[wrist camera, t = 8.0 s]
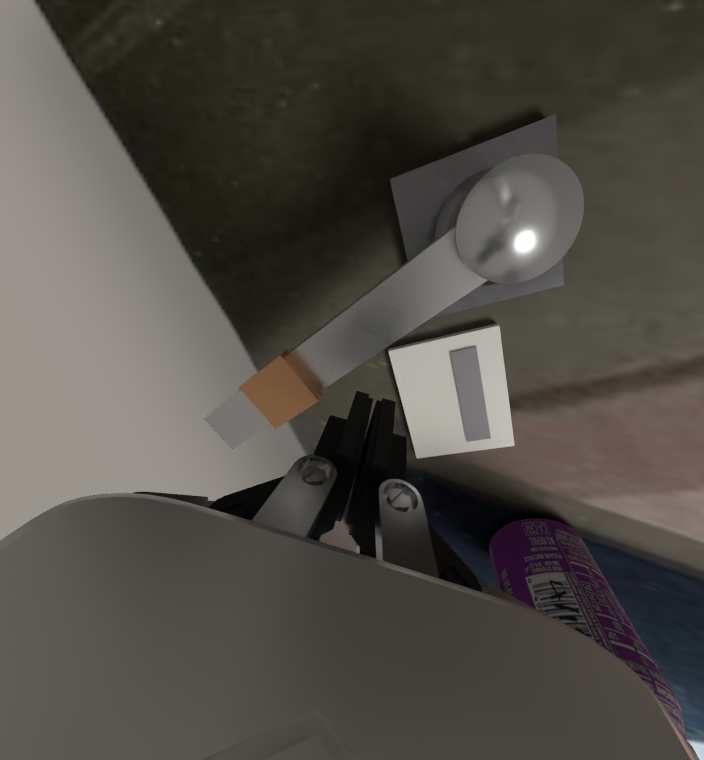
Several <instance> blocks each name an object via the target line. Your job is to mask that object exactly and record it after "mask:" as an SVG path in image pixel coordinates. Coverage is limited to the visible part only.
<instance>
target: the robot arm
mask: <svg viewBox="0 0 704 760" xmlns="http://www.w3.org/2000/svg"><path fill="white" fill-rule="evenodd" d="M368 397H369V394H366V393H362V392H359V391H356V394H355V397H354V400H353V403H352V407H351V410H350V413H349V416H348V419H347V420H345V419H342V418H338V417H335V416H330V417H329V419H328V422H327V424H326V426H325V429H324V431H323V433H322V436H321V438H320V440H319V443H318V445H317V447H316V450H315V452H314V454H313V455H308V456H304V457H302V458H300V459H298V460H297V461H296V462H295V463H294V465H293V466H292V467H291V469H290V470H289V471H288V473H287V474H286V475H285V476H283V477H280V478H277V479H274V480H271V481H268V482H265V483H262V484H259V485H256V486H253V487H251V488H247V489H245V490H241V491H239V492H235V493H232V494H230V495H227V496H224V497H222V498H220V499H217V500H216V501H208V497H201V496H190V495H178V494H166V493H154V492H135V493H115V494H99V495H92V496H86V497H81V498H77V499H74V500H71V501H67V502H65V503H62V504H60V505H58V506H55V507H53V508H51V509H49V510H48V511H46V512H44V513H42V514H40V515H39V516H37V517H35V518H34V519H32V520H30V521H29V522H27V523H26V524H24V525H23V526H21V527H20V528H18V529H17V530H15V531H14V532H12V533H11V534H9V535H8V536H6V537H5V538H4V539H2V540H1V541H0V760H697V758H696V757H695V755H694V753H693V752H692V750H691V748H690V747H689V745H688V743H687V742H686V740H685V738H684V737H683V735H682V733H681V732H680V730H679V728H678V727H677V725H676V724H675V722H674V721H673V719H672V718H671V716H670V714H669V713H668V712H667V710H666V709H665V707H664V706H663V704H662V703H661V702H660V700H659V699H658V698H657V696H656V695H655V694H654V692H653V691H652V690H651V689H650V687H649V686H648V685H647V684H646V683H645V682H644V681H643V680H642V679H641V678H640V677H639V676H638V675H637V674H636V673H635V672H634V671H633V670H632V669H631V668H630V667H628V666H627V665H626V664H625V663H624V662H622V661H621V660H620V659H619V658H617V657H616V656H615V655H614V654H612V653H611V652H609V651H608V650H606V649H605V648H604V647H602V646H601V645H599V644H598V643H596V642H595V641H593V640H592V639H590V638H589V637H587V636H585V635H584V634H582V633H580V632H578V631H577V630H575V629H573V628H571V627H569V626H568V625H566V624H564V623H562V622H559V621H557V620H555V619H553V618H551V617H550V616H548V615H546V614H544V613H542V612H540V611H538V610H537V609H535V608H533V607H531V606H529V605H527V604H525V603H524V602H522V601H520V600H518V599H516V598H514V597H512V596H511V595H509V594H507V593H505V592H503V591H501V590H499V589H498V588H496V587H494V586H492V585H490V584H488V583H486V584H485V585H482V584H480V583H479V581H478V579H477V578H476V577H475V575H474V574H473V572H472V571H471V570H470V569H469V568H468V567H467V565H466V564H465V563H464V562H463V561H462V560H461V559H460V558H459V556H458V555H457V554H456V553H455V552H454V551H453V550H452V549H451V548H450V546H449V545H448V544H447V543H446V542H445V541H444V540H443V539H442V537H441V536H440V535H439V534H438V533H437V532H436V531H435V530H434V528H433V527H432V526H431V525H430V524H429V523H428V522H427V518H426V514H425V509H424V505H423V500H422V498H421V495H420V493H419V492H418V491H417V489H416V488H414V487H413V486H412V485H411V484H409V483H407V482H406V454H407V438H406V437H405V436H401V435H398V434H394V433H393V427H394V415H395V402H394V401H391V400H387V399H384V398H383V399H382V401H378V400H377V401H376V405H375V408H374V411H373V414H372V418H371V421H370V424H369V427H368V431H367V434H366V429H367V425H368V420H369V416H370V411H371V406H372V402H373V399H371V398H368ZM365 434H366V437H365ZM364 439H365V441H364ZM363 443H364V444H363ZM356 471H357V472H356ZM355 474H356V477H355ZM354 478H355V481H354ZM353 481H354V486H353V490H352V495H351V499H350V504H349V509H348V513H347V518H346V524H350V525H351V526H350V531H349V535H352V537H353V538H354V540H355V541H356V543H357V545H358V546H357V550H356V553H355V552H352V551H349V550H346V549H342V548H339V547H336V546H333V545H329V544H326V543H323V542H320V541H319V540H320V536H321V535H322V534H324V533H326V532H328V531H330V530H332V529H333V527H334V524H335V521H341V520H342V516H343V513H344V510H345V507H346V503H347V500H348V497H349V494H350V491H351V487H352V484H353Z"/></svg>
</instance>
